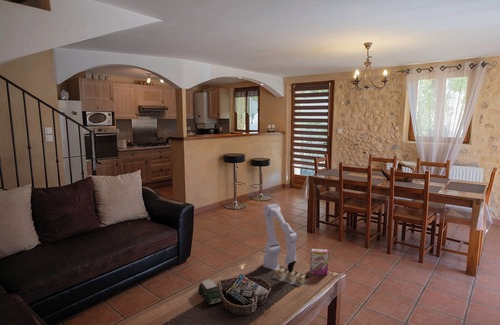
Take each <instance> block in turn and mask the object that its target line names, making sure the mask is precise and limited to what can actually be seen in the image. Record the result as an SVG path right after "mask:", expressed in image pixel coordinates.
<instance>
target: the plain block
mask: <svg viewBox="0 0 500 325" xmlns="http://www.w3.org/2000/svg"><path fill="white" fill-rule="evenodd" d="M285 273H286V278H285V279H286V280H289V281H293V280H294V279H295V276H296V271H294V270H293V271H292V272H289V271H288V270H287V271H285Z"/></svg>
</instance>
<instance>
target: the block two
mask: <svg viewBox="0 0 500 325" xmlns="http://www.w3.org/2000/svg"><path fill="white" fill-rule="evenodd" d="M295 276H296V283H299V284H302V285H303V283H304V282H305V279H306V274H305V273H302V272H298V273H297V274H295Z"/></svg>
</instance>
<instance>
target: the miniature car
mask: <svg viewBox="0 0 500 325" xmlns="http://www.w3.org/2000/svg"><path fill="white" fill-rule="evenodd" d="M214 281H215V280H213V279H211V278H209V279H205V280H202V281H201V282H200V284H199V285H198V288H197V290H198V294H199V295H201V296H202V298H203V299H204V301H205V303H206V305H207V306H209V305H213V304H216V303H219V302H222V301H221V298H220V294H219V291H220V289H219V288H218V286H217V284H216V282H214Z"/></svg>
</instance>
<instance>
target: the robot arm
mask: <svg viewBox="0 0 500 325" xmlns="http://www.w3.org/2000/svg"><path fill="white" fill-rule="evenodd" d="M262 209H263V216H264V220H265V227H266V234H267V241H266V243H265V245H264V246H265V248H264V251H265V252H264V256H263V268H265V269H271V270H274V271H276V269H277V268H278V267H280V266H281V265H280V264H279V255H280V253H281V251H282V247H281V245H280V242H279V241H278V240H277V239H276V238H277V236H276V231H275V223H274V218H275V219H276V220H277V222H278V223H279V224H280V229H281V231H282V233H283V234H284V236H285V237H284V240H285V244H286V255H285V262H284V266H285V267H287V271H289V272H292V271H294V267H295V264H296V263H297V261H298V259H297V255H298V254H297V242H298V241H299V235H298V232H296V231H295V230H293V229H292V227H291V226H290V224H289V222H286V220H285V218H284V216H283V214H282V212H281V209H282V208H281V207H280V204H279V203H277V202H276V203H270V204H265V205H264V206H263V208H262Z"/></svg>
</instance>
